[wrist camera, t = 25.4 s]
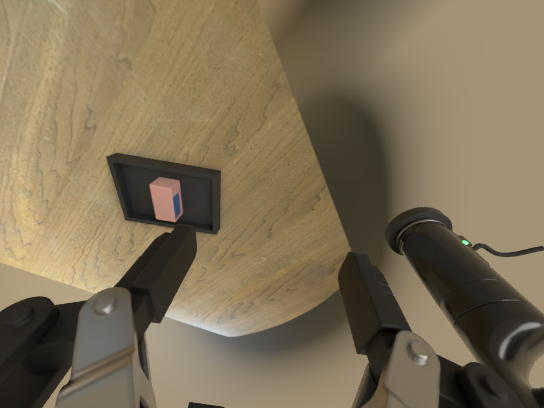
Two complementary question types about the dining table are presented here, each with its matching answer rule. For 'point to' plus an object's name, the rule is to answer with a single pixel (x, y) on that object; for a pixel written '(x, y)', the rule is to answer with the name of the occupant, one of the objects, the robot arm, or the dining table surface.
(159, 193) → the eraser
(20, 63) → the dining table surface
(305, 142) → the dining table surface
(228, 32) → the dining table surface
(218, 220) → the tray
